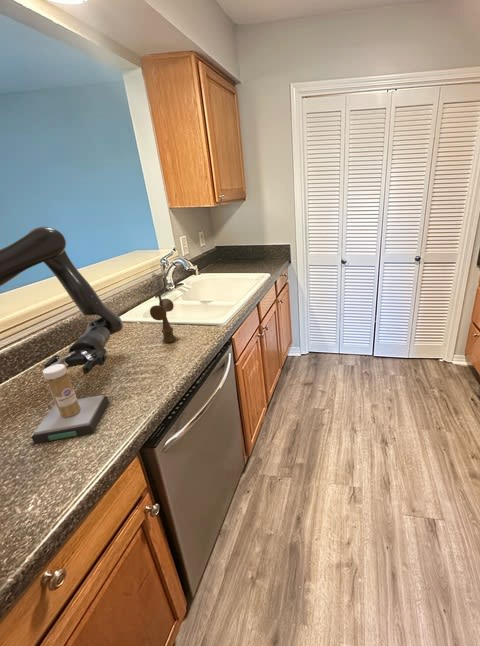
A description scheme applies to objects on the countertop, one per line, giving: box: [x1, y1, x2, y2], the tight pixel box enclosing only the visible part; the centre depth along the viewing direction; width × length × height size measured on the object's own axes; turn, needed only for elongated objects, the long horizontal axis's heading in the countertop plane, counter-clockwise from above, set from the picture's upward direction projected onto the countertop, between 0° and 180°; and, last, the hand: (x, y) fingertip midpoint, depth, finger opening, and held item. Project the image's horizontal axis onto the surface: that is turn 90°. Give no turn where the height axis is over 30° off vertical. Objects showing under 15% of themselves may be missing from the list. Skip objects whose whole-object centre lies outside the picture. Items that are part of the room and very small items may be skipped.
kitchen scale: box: [31, 394, 110, 445], centre depth 85 cm, size 13×13×3 cm
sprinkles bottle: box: [42, 364, 81, 418], centre depth 81 cm, size 5×5×14 cm
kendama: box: [149, 292, 177, 343], centre depth 125 cm, size 6×10×20 cm, turn 1°
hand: (66, 374), depth 85 cm, fingers open, 8 cm apart
